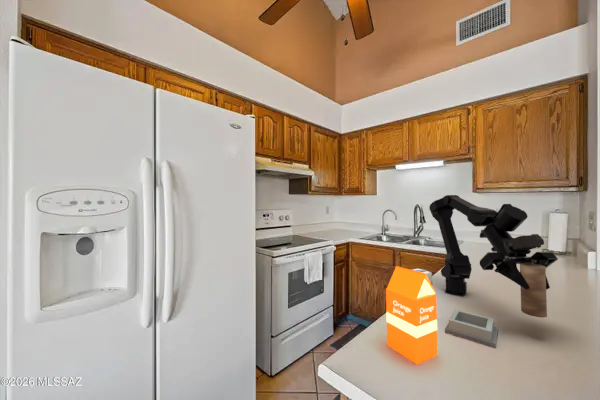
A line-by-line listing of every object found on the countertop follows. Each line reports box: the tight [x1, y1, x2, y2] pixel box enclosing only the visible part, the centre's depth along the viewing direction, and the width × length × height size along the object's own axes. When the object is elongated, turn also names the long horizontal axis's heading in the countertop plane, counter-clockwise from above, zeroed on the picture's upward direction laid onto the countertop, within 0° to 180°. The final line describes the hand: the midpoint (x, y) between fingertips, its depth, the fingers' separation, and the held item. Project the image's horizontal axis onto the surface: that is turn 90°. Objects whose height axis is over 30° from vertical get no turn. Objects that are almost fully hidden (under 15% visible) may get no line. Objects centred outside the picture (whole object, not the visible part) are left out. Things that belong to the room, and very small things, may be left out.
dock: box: [444, 308, 499, 349], centre depth 67 cm, size 11×11×4 cm
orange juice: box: [385, 265, 439, 366], centre depth 59 cm, size 8×9×20 cm
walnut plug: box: [519, 263, 548, 318], centre depth 65 cm, size 5×5×13 cm
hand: (538, 288), depth 63 cm, fingers closed on walnut plug, 5 cm apart
